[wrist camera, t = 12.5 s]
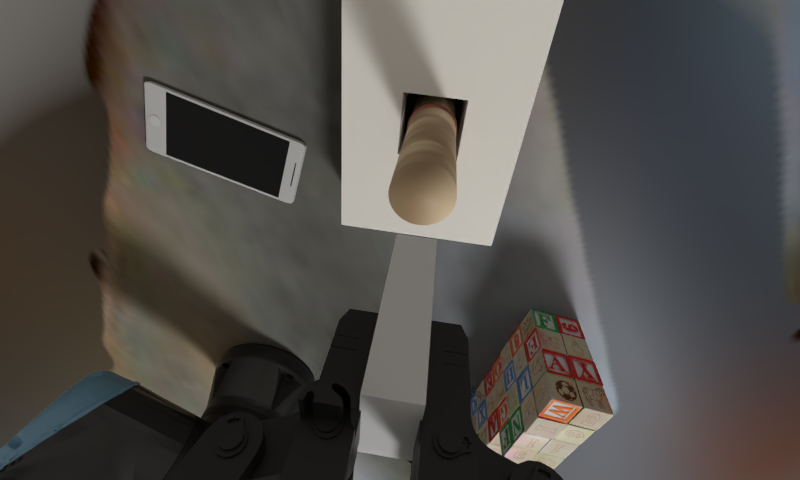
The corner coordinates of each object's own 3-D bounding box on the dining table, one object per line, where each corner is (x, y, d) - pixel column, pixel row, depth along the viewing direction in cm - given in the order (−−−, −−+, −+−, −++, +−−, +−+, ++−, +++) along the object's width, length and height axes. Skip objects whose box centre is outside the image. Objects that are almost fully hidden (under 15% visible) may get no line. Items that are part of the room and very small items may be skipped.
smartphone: (150, 77, 34) (142, 80, 33) (308, 142, 36) (305, 145, 35) (152, 146, 38) (145, 149, 37) (294, 201, 40) (291, 205, 39)
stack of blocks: (506, 410, 57) (518, 501, 47) (468, 400, 56) (471, 490, 46) (579, 319, 44) (616, 417, 34) (530, 306, 44) (553, 401, 34)
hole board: (353, 199, 38) (341, 224, 34) (358, -41, 27) (341, -46, 23) (487, 217, 38) (491, 246, 34) (551, -20, 26) (569, -20, 22)
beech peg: (411, 129, 33) (384, 221, 20) (415, 85, 31) (389, 157, 18) (452, 134, 33) (451, 231, 20) (460, 90, 31) (465, 167, 18)
